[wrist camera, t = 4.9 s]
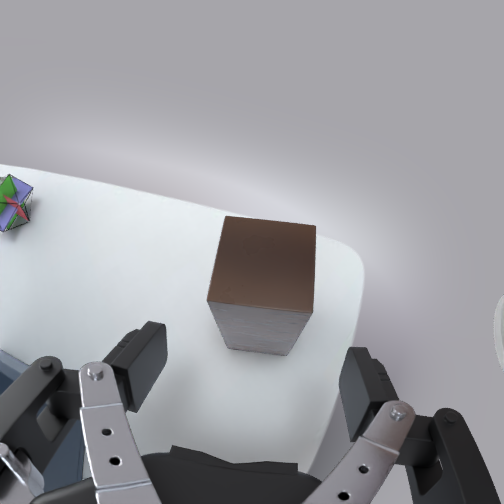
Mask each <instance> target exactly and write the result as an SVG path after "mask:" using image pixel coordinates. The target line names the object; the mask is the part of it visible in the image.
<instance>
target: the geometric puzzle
mask: <svg viewBox="0 0 504 504" xmlns="http://www.w3.org/2000/svg"><path fill="white" fill-rule="evenodd" d="M10 175H11V174H10V173H9V175H8V176H7V177H0V231H2V232H3V233H4V232H6V231H8V230H9V228H10V227H11V225H12V223H13V222H14V220H15V219H16V217H17V216H18V215H19V216H21V217H22V218H24V219H26V220H27V221H29V217H28V218H27V216H28V214H27V216H26V214H25V212H24V211H23V209H22V208H23V207H24V205H25V203H26V202H25V203H24V200H25V198H26V197H27V196H28V194H29V193H31V192H30V191H31V190H33V188H34V187H31V186H29V185H28V184H26V183H24V182H22V181H21V180H19V179H16V177H15V178H14V176H12V175H11V176H12V177H11V176H10ZM32 193H33V192H32ZM29 195H30V194H29ZM28 197H29V196H28ZM27 199H28V198H27ZM26 201H27V200H26ZM31 202H32V200H31ZM25 209H26V206H25ZM30 211H31V209H30ZM26 212H27V210H26ZM29 222H30V221H29ZM27 223H28V222H27ZM24 224H25V223H24ZM21 225H23V224H21ZM19 226H20V225H19ZM6 227H7V230H6V231H5V229H6ZM16 227H18V226H16ZM13 228H14V227H13ZM13 228H11V229H13Z"/></svg>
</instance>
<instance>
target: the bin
mask: <svg viewBox="0 0 504 504" xmlns="http://www.w3.org/2000/svg"><path fill="white" fill-rule="evenodd" d="M28 367H29V365H27V364H25V363H23V362H21V361H20V360H18V359H16V358H14V357H13V356H11V355H9V354H8V353H6V352H4V351H3V350H0V395H1V394H2V393H3V392H4V391H5V390H6V389H7V388H8V387H9V386H10V385H11V384H12V383H13V382H14V381H15V380H16V379H17V378H18V377H19V376H20V375H21V374H22V373H23V372H24V371H25V370H26V369H27V368H28ZM46 406H47V404H46V402H45V403H44V405H43V406H42V407H41V408H40V410H39V411H38V413H37V417H38V416H39V415H40V414H41V412H42V411H43V410H44V409H45V407H46ZM84 449H85V441H84V435H83V429H82V423H81V420H77V421H76V423H75V424H74V426H73V427H72V429H71V430H70V432H69V433H68V435H67V436H66V438H65V439H64V441H63V442H62V444H61V445H60V447H59V449H58V450H57V452H56V453H55V455H54V456H53V458H52V460H51V461H50V463H49V464H48V466H47V468H46V469H45V471H44V473H43V474H42V476H43V479H44V488H43V491H44V493H45V492H48V491H51V490H54V489H58V488H61V487H64V486H67V485H70V484H73V483H76V482H79V481H81V480H82V469H83V458H84Z"/></svg>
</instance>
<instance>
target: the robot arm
mask: <svg viewBox="0 0 504 504" xmlns="http://www.w3.org/2000/svg"><path fill="white" fill-rule="evenodd" d="M167 355H168V352H167V336H166V326H165V324H162V323H157V322H152V321H148V322H147V323H146V324H145V325H144V326H143V327H142V328H141V329H140V330H138V329H136V330H134V331H132V332H130V333H128V334H126V336H125V337H124V338H123V339H122V341H120V342H119V343H118V344H117V346H115V347H114V349H113V350H112V351H111V352H110V353H109V354H108V355H107V356H106V357H105V358H104V360H103V361H102V362H91V363H88V364H85V365H84V366H83V367H81V369H80V370H79V371H78V370H69V369H63V366H62V363H61V361H60V360H59V359H58V358H56V357H53V356H45V357H41V358H39V359H37V360H36V361H35V362H33V363H32V364H31V365H30V366H29V367H28V368H27V369H26V370H25V371H24V372H23V373H22V374H21V375H20V376H19V377H18V378H17V379H16V380H15V381H14V382H13V383H12V384H11V385H10V386H9V387H8V388H7V389H6V390H5V391H4V392H3V393H2V394H1V395H0V504H370V503H371V501H372V500H373V498H374V497H375V495H376V494H377V492H378V491H379V489H380V487H381V486H382V484H383V482H384V481H385V479H386V477H387V476H388V474H389V472H390V471H391V469H392V467H393V465H394V464H399V465H405V468H406V472H407V476H408V481H409V485H410V489H411V495H412V500H413V504H501V502H500V500H499V497H498V494H497V492H496V489H495V486H494V484H493V481H492V479H491V476H490V474H489V471H488V469H487V467H486V465H485V462H484V460H483V458H482V456H481V453H480V451H479V449H478V447H477V445H476V442H475V440H474V438H473V436H472V434H471V432H470V430H469V428H468V426H467V424H466V422H465V420H464V418H463V417H462V415H461V414H460V413H459V412H457V411H456V410H454V409H450V408H442V409H439V410H438V411H437V412H436V413H435V415H434V416H433V417H427V416H420V415H416V414H415V411H414V409H413V408H412V407H411V406H410V405H409V404H407V403H405V402H403V401H399V398H398V397H397V394H396V392H395V389H394V387H393V385H392V383H391V381H390V378H389V376H388V375H387V372H386V370H385V368H384V366H383V365H382V364H381V363H380V362H379V361H378V360H377V359H371V356H370V354H369V352H368V350H367V348H365V347H349V349H348V351H347V354H346V357H345V361H344V364H343V367H342V370H341V374H340V378H339V389H340V394H341V398H342V403H343V407H344V412H345V417H346V422H347V427H348V431H349V436H350V442H355V443H354V444H353V446H352V447H351V448H350V449H349V451H348V452H347V453H346V455H345V456H344V457H343V458H342V459H341V461H340V462H339V463H338V465H337V466H336V467H335V468H334V469H333V470H332V472H331V473H330V474H329V475H328V476H327V477H326V478H325V479H324V481H323V482H322V481H320V480H318V479H317V478H315V477H313V476H310V475H308V474H305V473H302V472H298V463H283V462H269V461H264V462H253V463H238V464H233V463H229V462H226V461H224V460H221V459H218V458H216V457H213V456H211V455H208V454H206V453H203V452H200V451H195V450H191V449H186V448H182V447H178V446H174V445H172V447H171V449H170V452H169V453H152V454H147V455H143V456H140V454H139V451H138V448H137V446H136V443H135V440H134V438H133V435H132V432H131V429H130V426H129V423H128V420H127V417H126V414H125V413H126V411H127V410H129V411H132V412H135V413H137V412H138V410H139V408H140V407H141V405H142V403H143V402H144V400H145V398H146V396H147V395H148V393H149V391H150V390H151V388H152V386H153V385H154V383H155V381H156V380H157V378H158V376H159V375H160V373H161V371H162V370H163V368H164V366H165V364H166V361H167ZM45 402H46V404H47V406H46V407H45V409H44V410H43V411H42V412H41V414H40V415H39V416H38V417H37V413H38V411H39V410H40V408H41V407H42V406H43V405H44V403H45ZM77 420H81V423H82V429H83V435H84V441H85V446H86V451H87V456H88V460H89V465H90V469H91V473H92V477H89V478H87V479H84V480H81V481H79V482H76V483H73V484H70V485H67V486H64V487H61V488H58V489H54V490H51V491H48V492H45V493H44V491H43V488H44V479H43V476H42V474H43V473H44V471H45V469H46V468H47V466H48V464H49V463H50V461H51V460H52V458H53V456H54V455H55V453H56V452H57V450H58V449H59V447H60V445H61V444H62V442H63V441H64V439H65V438H66V436H67V435H68V433H69V432H70V430H71V429H72V427H73V426H74V424H75V423H76V421H77ZM439 459H440V461H439ZM440 462H441V464H440ZM441 465H442V467H441ZM442 468H443V470H442Z"/></svg>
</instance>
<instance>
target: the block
mask: <svg viewBox="0 0 504 504" xmlns="http://www.w3.org/2000/svg"><path fill="white" fill-rule="evenodd" d="M315 252H316V226H314V225H306V224H298V223H289V222H279V221H271V220H262V219H252V218H243V217H232V216H225V219H224V223H223V228H222V232H221V236H220V241H219V245H218V250H217V254H216V259H215V263H214V268H213V272H212V277H211V281H210V286H209V291H208V295H207V302H208V305H209V307H210V309H211V312H212V314H213V316H214V319H215V321H216V323H217V326H218V328H219V330H220V332H221V335H222V337H223V339H224V341H225V344H226V346H227V348H229V349H236V350H243V351H251V352H259V353H267V354H276V355H286V356H287V355H288V353H289V351H290V350H291V348H292V347H293V345H294V343H295V342H296V340H297V338H298V337H299V335H300V334H301V332H302V330H303V329H304V327H305V325H306V324H307V322H308V320H309V318H310V317H311V315H312V313H313V303H314V282H315Z"/></svg>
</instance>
